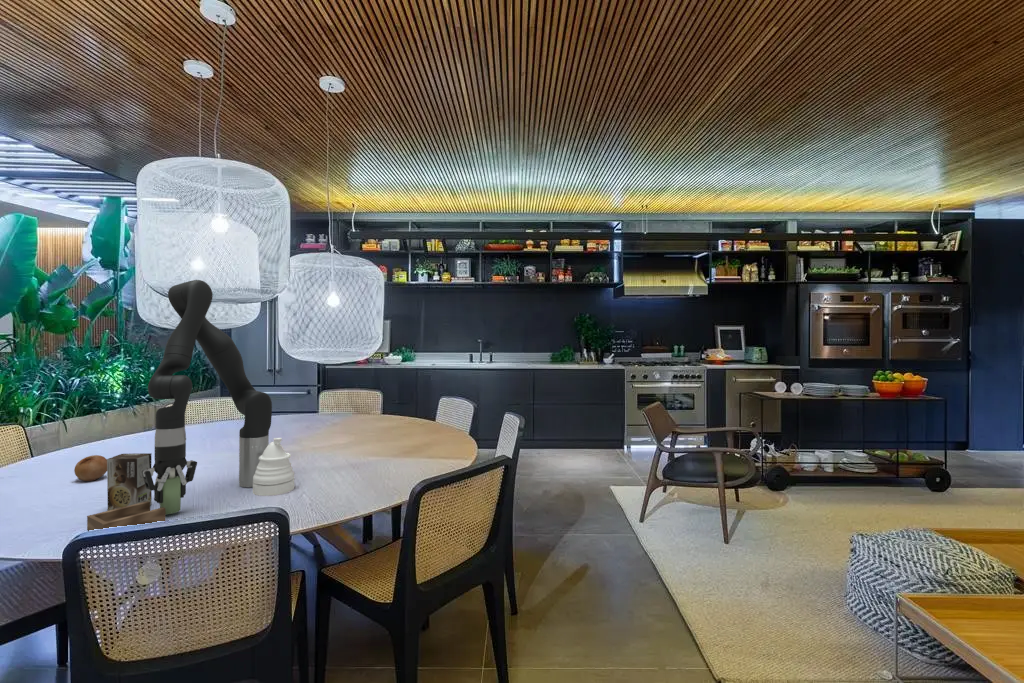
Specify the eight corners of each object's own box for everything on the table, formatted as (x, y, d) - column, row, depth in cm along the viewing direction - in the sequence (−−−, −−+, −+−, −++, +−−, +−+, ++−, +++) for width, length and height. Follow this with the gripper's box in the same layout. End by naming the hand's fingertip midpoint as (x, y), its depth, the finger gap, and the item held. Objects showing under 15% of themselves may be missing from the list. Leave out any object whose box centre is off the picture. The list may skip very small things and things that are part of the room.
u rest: (147, 514, 141) (147, 500, 141) (165, 522, 135) (165, 508, 135) (87, 530, 129) (87, 515, 129) (103, 539, 123) (103, 524, 123)
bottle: (175, 507, 145) (175, 464, 145) (183, 510, 142) (184, 466, 142) (156, 512, 140) (156, 468, 140) (164, 515, 138) (164, 470, 138)
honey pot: (302, 488, 167) (302, 436, 167) (267, 498, 156) (267, 443, 156) (279, 482, 174) (280, 432, 173) (244, 491, 163) (245, 439, 162)
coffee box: (152, 504, 149) (152, 452, 149) (137, 511, 143) (137, 458, 143) (122, 504, 149) (123, 452, 149) (106, 511, 143) (106, 458, 143)
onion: (88, 491, 170) (81, 469, 166) (72, 481, 173) (64, 459, 169) (117, 475, 178) (111, 454, 174) (101, 465, 181) (94, 444, 177)
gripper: (190, 436, 149) (190, 491, 149) (135, 445, 137) (135, 504, 137) (203, 439, 145) (202, 495, 145) (147, 449, 133) (147, 510, 133)
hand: (170, 499), depth 141 cm, fingers closed on bottle, 5 cm apart
